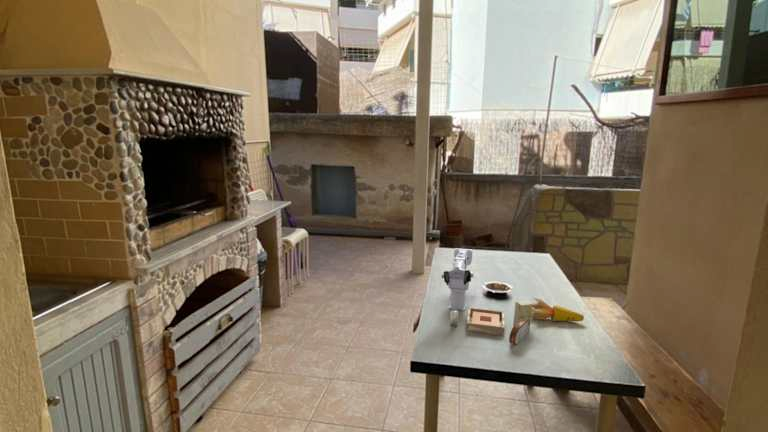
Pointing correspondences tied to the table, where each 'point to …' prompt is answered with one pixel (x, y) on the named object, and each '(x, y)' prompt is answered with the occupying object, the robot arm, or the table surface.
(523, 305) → the skincare box
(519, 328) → the tin
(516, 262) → the table surface
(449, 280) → the robot arm
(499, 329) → the open box
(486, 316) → the socket plate
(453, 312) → the peg
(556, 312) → the yellow tapered piece
